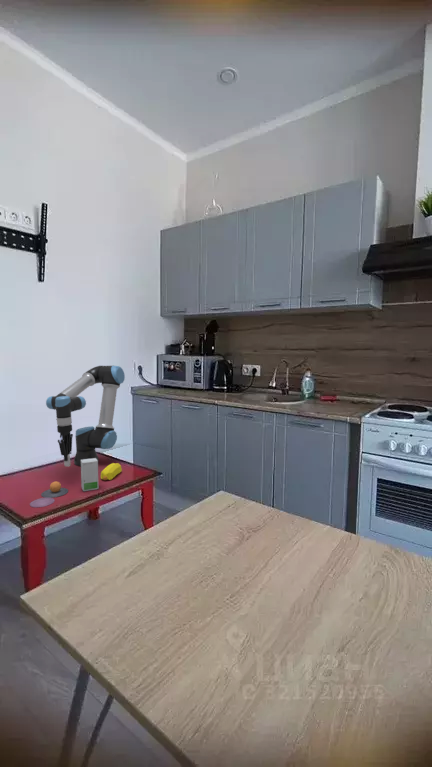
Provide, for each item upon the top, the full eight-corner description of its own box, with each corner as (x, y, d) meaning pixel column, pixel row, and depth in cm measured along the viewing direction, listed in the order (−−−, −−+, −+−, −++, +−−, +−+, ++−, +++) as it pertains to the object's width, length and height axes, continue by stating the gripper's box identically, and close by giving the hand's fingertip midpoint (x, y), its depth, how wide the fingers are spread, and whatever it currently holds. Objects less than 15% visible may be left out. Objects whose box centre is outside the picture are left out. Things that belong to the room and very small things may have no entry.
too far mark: (37, 497, 187) (37, 497, 187) (58, 498, 186) (58, 497, 186) (24, 507, 176) (24, 506, 176) (47, 507, 175) (47, 507, 175)
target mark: (49, 487, 200) (49, 487, 200) (72, 488, 199) (72, 487, 199) (35, 497, 187) (35, 497, 187) (60, 498, 186) (60, 497, 186)
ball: (51, 493, 195) (54, 483, 198) (61, 493, 194) (64, 483, 197) (46, 490, 190) (49, 479, 193) (56, 490, 190) (59, 480, 193)
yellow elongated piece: (124, 471, 225) (112, 471, 226) (123, 460, 224) (111, 460, 226) (110, 482, 207) (98, 481, 209) (110, 470, 207) (97, 470, 208)
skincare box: (82, 491, 194) (81, 463, 192) (81, 487, 199) (79, 459, 198) (99, 488, 197) (98, 460, 196) (97, 484, 203) (95, 457, 202)
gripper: (63, 421, 210) (66, 461, 213) (51, 427, 197) (55, 470, 200) (76, 421, 209) (79, 462, 212) (65, 427, 196) (68, 470, 199)
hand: (67, 465), depth 206 cm, fingers closed
